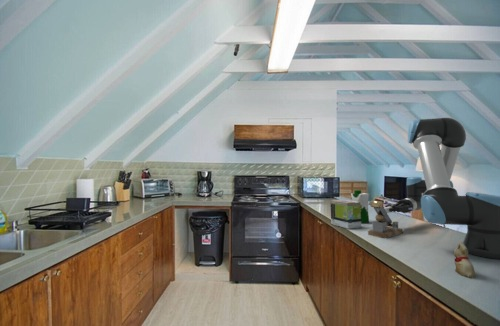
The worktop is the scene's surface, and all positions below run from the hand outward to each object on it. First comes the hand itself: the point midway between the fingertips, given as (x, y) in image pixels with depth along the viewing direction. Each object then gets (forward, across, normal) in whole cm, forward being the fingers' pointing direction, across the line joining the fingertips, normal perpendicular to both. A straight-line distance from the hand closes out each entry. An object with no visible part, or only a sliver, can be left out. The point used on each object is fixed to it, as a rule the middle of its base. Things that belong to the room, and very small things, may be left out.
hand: (384, 210), depth 135 cm
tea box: (0, +24, -12) cm, 27 cm away
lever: (-3, 0, -8) cm, 9 cm away
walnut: (+5, 0, -5) cm, 7 cm away
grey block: (+6, 0, -10) cm, 11 cm away
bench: (0, 0, -12) cm, 12 cm away
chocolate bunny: (+29, -42, -11) cm, 52 cm away
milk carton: (-16, +24, -13) cm, 31 cm away
